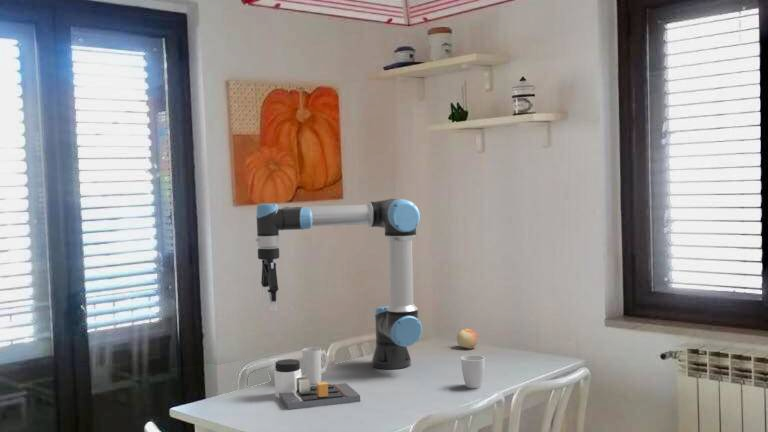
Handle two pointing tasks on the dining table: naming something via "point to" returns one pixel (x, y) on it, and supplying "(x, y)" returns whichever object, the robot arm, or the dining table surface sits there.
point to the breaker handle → (322, 389)
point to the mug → (313, 364)
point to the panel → (309, 397)
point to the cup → (473, 370)
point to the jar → (286, 376)
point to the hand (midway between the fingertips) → (270, 307)
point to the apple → (467, 338)
